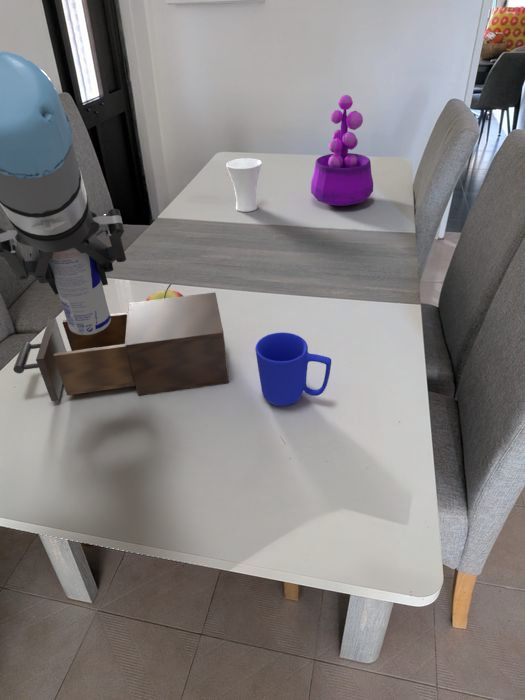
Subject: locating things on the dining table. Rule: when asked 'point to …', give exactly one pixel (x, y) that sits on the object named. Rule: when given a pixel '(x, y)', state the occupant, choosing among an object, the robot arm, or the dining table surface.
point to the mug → (286, 368)
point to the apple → (164, 295)
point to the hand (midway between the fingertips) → (80, 280)
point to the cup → (245, 182)
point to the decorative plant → (343, 163)
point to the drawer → (81, 359)
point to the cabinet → (176, 343)
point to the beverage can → (80, 291)
